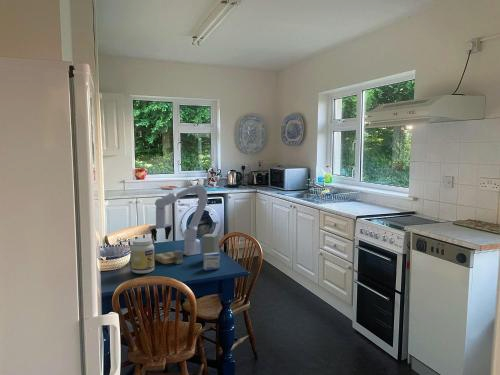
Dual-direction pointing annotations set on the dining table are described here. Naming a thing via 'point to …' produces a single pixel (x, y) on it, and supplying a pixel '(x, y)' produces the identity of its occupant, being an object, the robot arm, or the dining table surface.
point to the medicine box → (211, 261)
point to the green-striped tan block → (165, 257)
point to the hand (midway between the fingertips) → (161, 240)
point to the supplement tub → (142, 255)
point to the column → (178, 257)
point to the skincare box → (210, 244)
